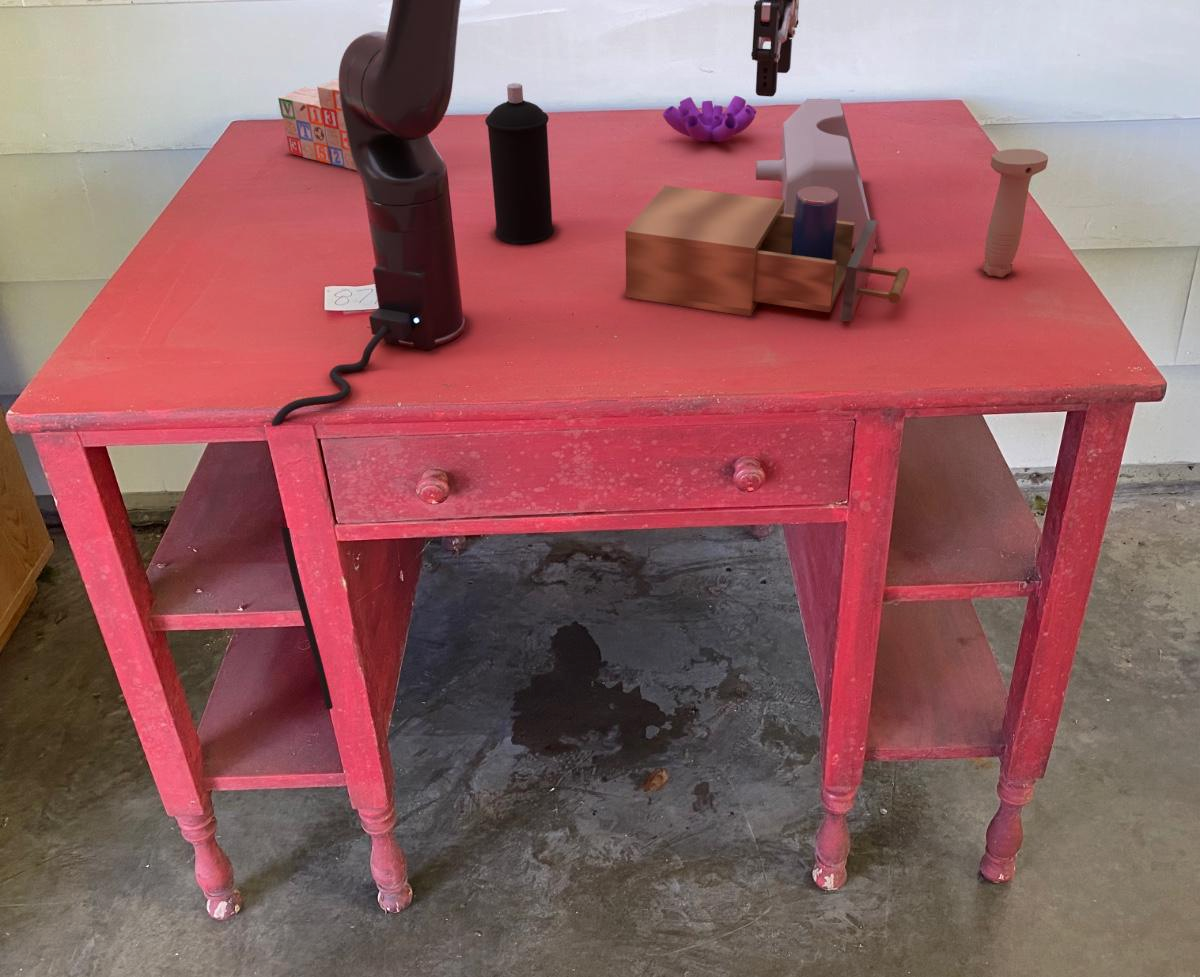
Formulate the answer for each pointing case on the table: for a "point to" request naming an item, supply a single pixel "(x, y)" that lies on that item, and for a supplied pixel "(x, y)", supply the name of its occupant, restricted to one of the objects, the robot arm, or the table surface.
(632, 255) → the cabinet
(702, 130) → the pipe connector assembly
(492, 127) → the aerosol can
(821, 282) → the drawer
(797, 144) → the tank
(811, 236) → the can
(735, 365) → the table surface
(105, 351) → the table surface
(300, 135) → the stack of blocks
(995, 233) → the handle
